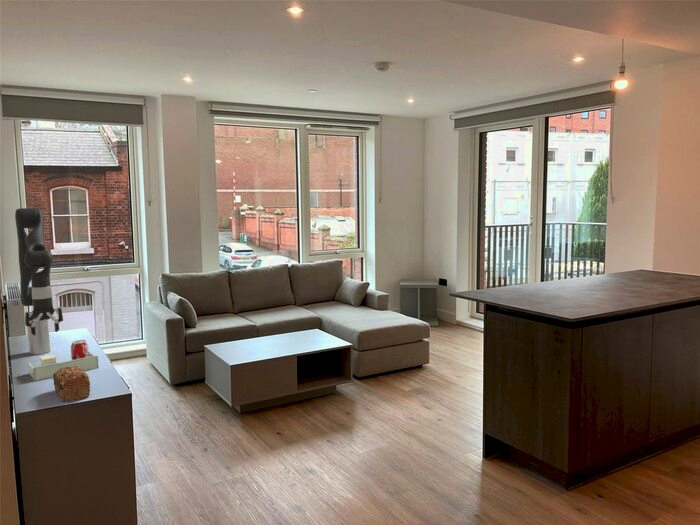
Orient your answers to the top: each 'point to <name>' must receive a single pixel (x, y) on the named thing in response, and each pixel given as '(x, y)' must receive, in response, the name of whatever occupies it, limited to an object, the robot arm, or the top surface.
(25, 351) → the top surface
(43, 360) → the cream rectangular block
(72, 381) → the bread
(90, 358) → the u-shaped bracket
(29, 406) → the top surface
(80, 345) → the soda can
